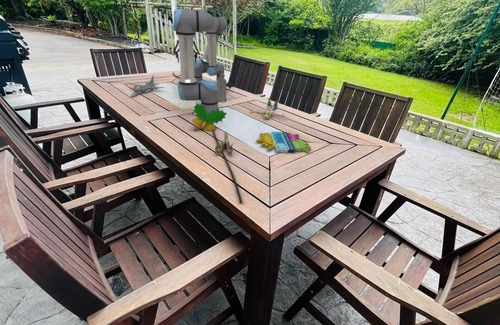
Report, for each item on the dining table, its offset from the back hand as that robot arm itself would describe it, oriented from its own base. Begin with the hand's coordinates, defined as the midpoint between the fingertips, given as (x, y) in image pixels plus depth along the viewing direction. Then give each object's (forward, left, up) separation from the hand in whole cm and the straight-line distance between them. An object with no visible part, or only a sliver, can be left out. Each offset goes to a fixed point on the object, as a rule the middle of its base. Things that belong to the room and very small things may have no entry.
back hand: (222, 87), depth 233 cm
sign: (+106, -16, -6) cm, 107 cm away
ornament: (+69, -44, -6) cm, 82 cm away
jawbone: (+101, -51, -6) cm, 113 cm away
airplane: (-31, -59, -6) cm, 67 cm away
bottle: (+17, -9, -6) cm, 20 cm away
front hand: (-4, -30, +21) cm, 37 cm away
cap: (+17, -9, +15) cm, 24 cm away
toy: (+60, +9, -6) cm, 61 cm away
